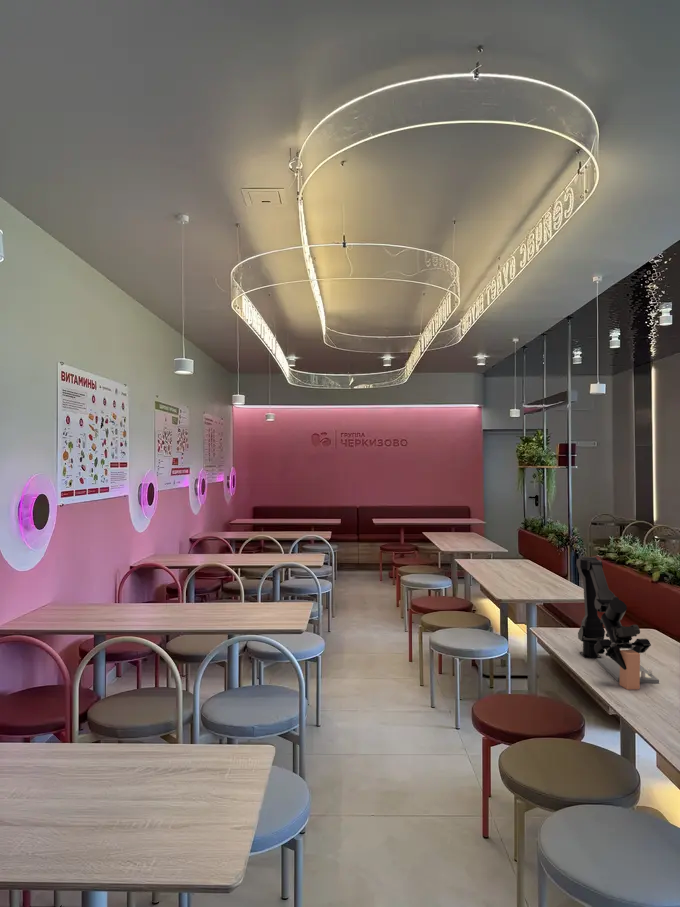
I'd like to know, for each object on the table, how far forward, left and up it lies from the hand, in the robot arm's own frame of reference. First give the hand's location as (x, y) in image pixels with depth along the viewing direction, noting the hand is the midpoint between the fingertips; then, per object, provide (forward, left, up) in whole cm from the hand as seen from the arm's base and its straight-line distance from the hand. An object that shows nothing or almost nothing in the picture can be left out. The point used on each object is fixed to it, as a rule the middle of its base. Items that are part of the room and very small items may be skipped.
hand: (632, 669), depth 207 cm
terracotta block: (-1, 0, -7) cm, 7 cm away
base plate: (-17, +5, -7) cm, 19 cm away
